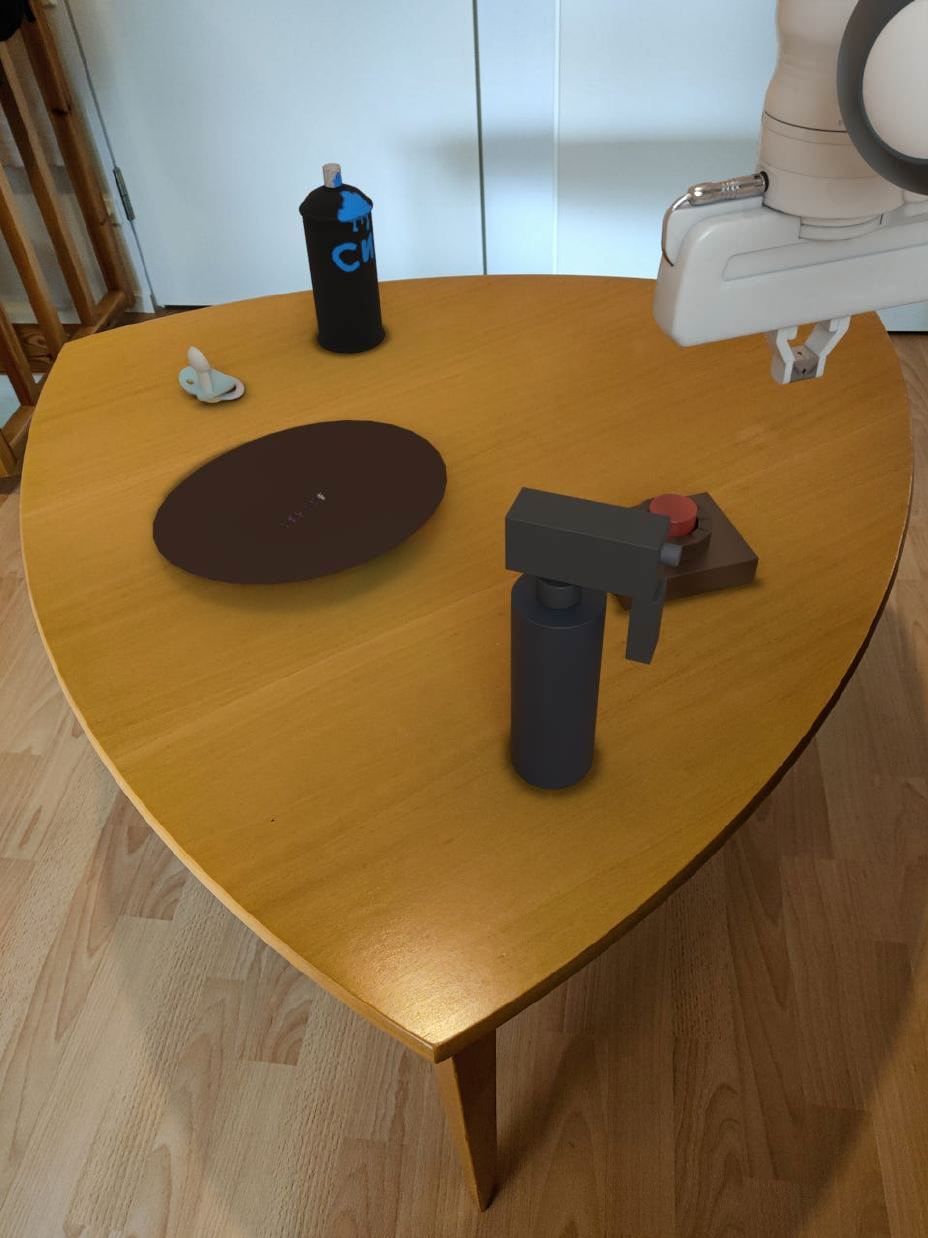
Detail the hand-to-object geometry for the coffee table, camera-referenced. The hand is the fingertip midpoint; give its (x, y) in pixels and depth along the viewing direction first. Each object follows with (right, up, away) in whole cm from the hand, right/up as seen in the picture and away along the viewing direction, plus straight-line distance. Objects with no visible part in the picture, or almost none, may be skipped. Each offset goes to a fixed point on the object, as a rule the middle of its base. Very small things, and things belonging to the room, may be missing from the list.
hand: (795, 377), depth 67 cm
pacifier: (-50, +9, +46) cm, 68 cm away
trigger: (-11, -18, -4) cm, 21 cm away
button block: (-4, -11, +22) cm, 25 cm away
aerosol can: (-36, +18, +54) cm, 67 cm away
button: (-4, -8, +19) cm, 21 cm away
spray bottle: (-14, -27, +6) cm, 31 cm away
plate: (-38, -6, +29) cm, 48 cm away
